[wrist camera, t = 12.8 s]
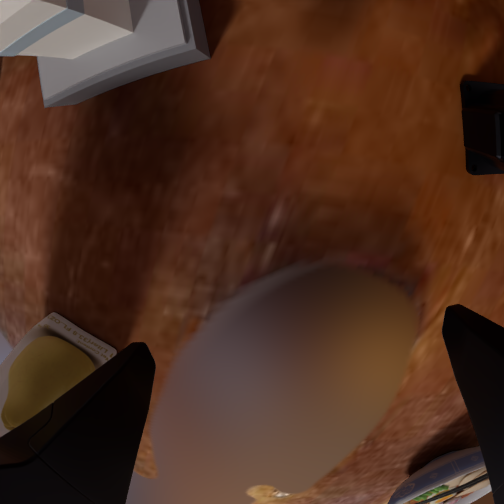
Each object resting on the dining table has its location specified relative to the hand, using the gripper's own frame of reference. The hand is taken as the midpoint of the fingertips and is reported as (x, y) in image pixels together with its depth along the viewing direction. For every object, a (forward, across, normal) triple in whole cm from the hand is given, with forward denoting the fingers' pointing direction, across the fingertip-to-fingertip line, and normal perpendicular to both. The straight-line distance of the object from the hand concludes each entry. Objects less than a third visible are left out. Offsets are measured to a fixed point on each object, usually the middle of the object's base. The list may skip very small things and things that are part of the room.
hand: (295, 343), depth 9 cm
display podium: (+13, +8, -15) cm, 21 cm away
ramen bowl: (+13, -20, +43) cm, 49 cm away
